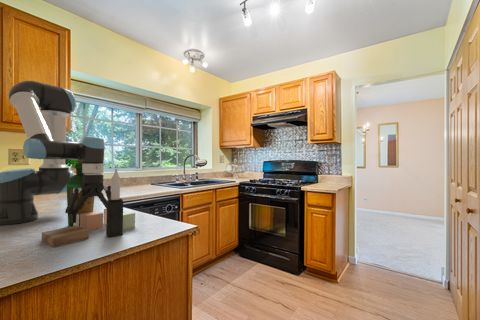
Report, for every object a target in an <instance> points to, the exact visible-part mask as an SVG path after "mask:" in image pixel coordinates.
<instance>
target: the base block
mask: <svg viewBox="0 0 480 320" xmlns="http://www.w3.org/2000/svg"><path fill="white" fill-rule="evenodd" d="M89 232H90V230H87V229H84V228H81V227H78V226H67V227H62V228H57V229H52V230H47V231H42V232H41V242H42V241H43V242H42V243H44V244H46V245H48V246H50V247H52V248H57V247H62V246H64V245H68V244H72V243H73V244H74V243H76V242H80V241H84V240H89Z"/></svg>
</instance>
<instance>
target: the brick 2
mask: <svg viewBox="0 0 480 320" xmlns="http://www.w3.org/2000/svg"><path fill="white" fill-rule="evenodd" d="M135 227H136V212H133V211H130V210H129V211H128V210H123V230H129V229H131V228H135Z"/></svg>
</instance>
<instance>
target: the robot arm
mask: <svg viewBox="0 0 480 320" xmlns="http://www.w3.org/2000/svg"><path fill="white" fill-rule="evenodd" d="M8 100H9V102H10V104H11V106H12V107H14V108H15V109H16V112H17V115H18V117H19V120H20V122H21V124H22V125H21V126H22V127H23V130H24V133H25V134H26V135H25V136H26V138H27V139H25V141H24V142H23V146H22V147H23V148H22V150H23V154H24V155H23V156H25V158H27V159H31V160H32V159H35V160H43V162H42V164H41V165H40V166H39V167H38V170H35V168H32V167H30V168H28V167H27V168H17V169H9V170H3V171H1V172H0V226H7V225H14V224H15V225H18V224H22V223H28V222H31V221H32V222H33V221H35V220H37V219H38V218H39V213H38V212H39V211H38V210H37V207H36V205H35V202H34V198H35V197H34V196H43V195H58V194H64V193H67V185H66V182H67V180H68V179H69V178H70V177H72V176H73V175H74V172H73V171H72V170H70V168H69V165H67V164H66V160H75V161H78V160H82V163H86V164H82V173H84V175H83V176H82V186H81V188H73V189H72V196H71V198H70V201H69V203H68V206H67V205H66V208H65V210H64V213H65V214H67V215H68V214H71V223H74V224H73V226H78V227H79V214H77V213H78V211H79V210H80V208H81V207H82V205H83V204H84V202H85V201H86V199H88V197H93V196H94V197H98V198H99V201H100V202H101V204H102V205H103V206H104V207H105V208H103V225H106V226H107V201H108V199H111V185H107V184H106V185H104V172H105V171H104V169H105V167H104V165H105V164H104V162H105V140H104V138H102V137H99V136H84V137H83V138H82V141H81V142H80V141H79V142H78V141H67V118H68V117H69V116H71V113H73V112H74V111H75V108H76V105H77V104H76V97H75V95H74V93H73V92H72V91H71V90H69V89H67V88H63V87H60V86H56V85H53V84H52V85H50V84H48V83H47V84H46V83H43V82H39V81H36V80H24V81H23V80H22V81H21V82H20V81H19V82H17V83H16V84H14V85H13V86H12V87H11V88H10V89H9V91H8ZM103 190H104V193H105V195H106V196H105V195H104V193H103ZM80 191H82V192H83V194H82V195H81V198H80V199H79V201H78V202H77V204H76V205H75V202H76V200H77V197H78V194H79V193H80ZM74 205H75V206H74Z"/></svg>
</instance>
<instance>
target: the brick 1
mask: <svg viewBox="0 0 480 320" xmlns="http://www.w3.org/2000/svg"><path fill="white" fill-rule="evenodd" d="M103 222H104V212H100V211H97V210H96V211H94V210H93V212H88V213H82V214H80V227H81V228H84V229H87V230H89V231H93V230H97V228H98V229H102V228H103V227H104V224H103Z"/></svg>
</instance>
